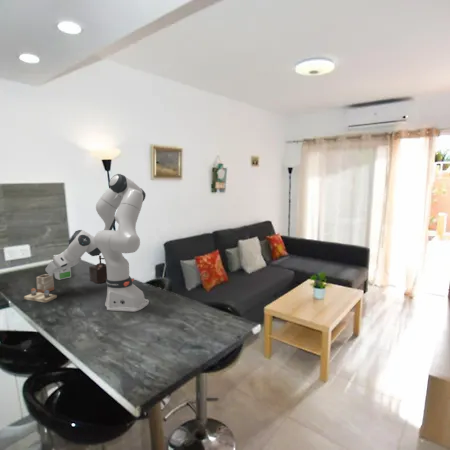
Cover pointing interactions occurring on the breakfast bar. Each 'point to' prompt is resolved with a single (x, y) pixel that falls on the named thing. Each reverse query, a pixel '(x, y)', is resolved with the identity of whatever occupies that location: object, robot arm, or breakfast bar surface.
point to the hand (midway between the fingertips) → (57, 272)
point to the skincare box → (62, 273)
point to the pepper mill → (98, 272)
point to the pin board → (40, 296)
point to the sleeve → (44, 283)
